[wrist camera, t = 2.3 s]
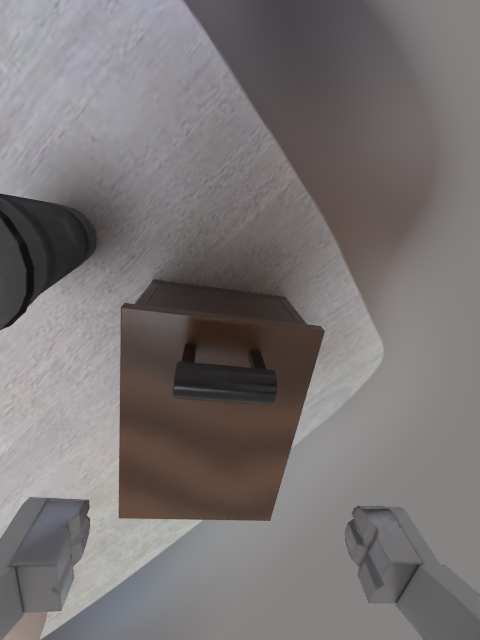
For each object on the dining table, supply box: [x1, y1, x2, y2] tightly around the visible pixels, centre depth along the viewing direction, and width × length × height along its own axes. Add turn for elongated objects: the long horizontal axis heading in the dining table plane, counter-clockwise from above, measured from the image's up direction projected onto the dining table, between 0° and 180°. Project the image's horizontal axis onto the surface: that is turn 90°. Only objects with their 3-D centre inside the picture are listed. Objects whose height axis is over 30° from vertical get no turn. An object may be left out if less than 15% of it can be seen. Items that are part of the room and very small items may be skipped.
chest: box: [135, 280, 306, 324], centre depth 25 cm, size 17×12×9 cm
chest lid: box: [119, 303, 325, 521], centre depth 18 cm, size 17×12×5 cm
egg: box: [2, 612, 47, 640], centre depth 33 cm, size 8×8×11 cm
